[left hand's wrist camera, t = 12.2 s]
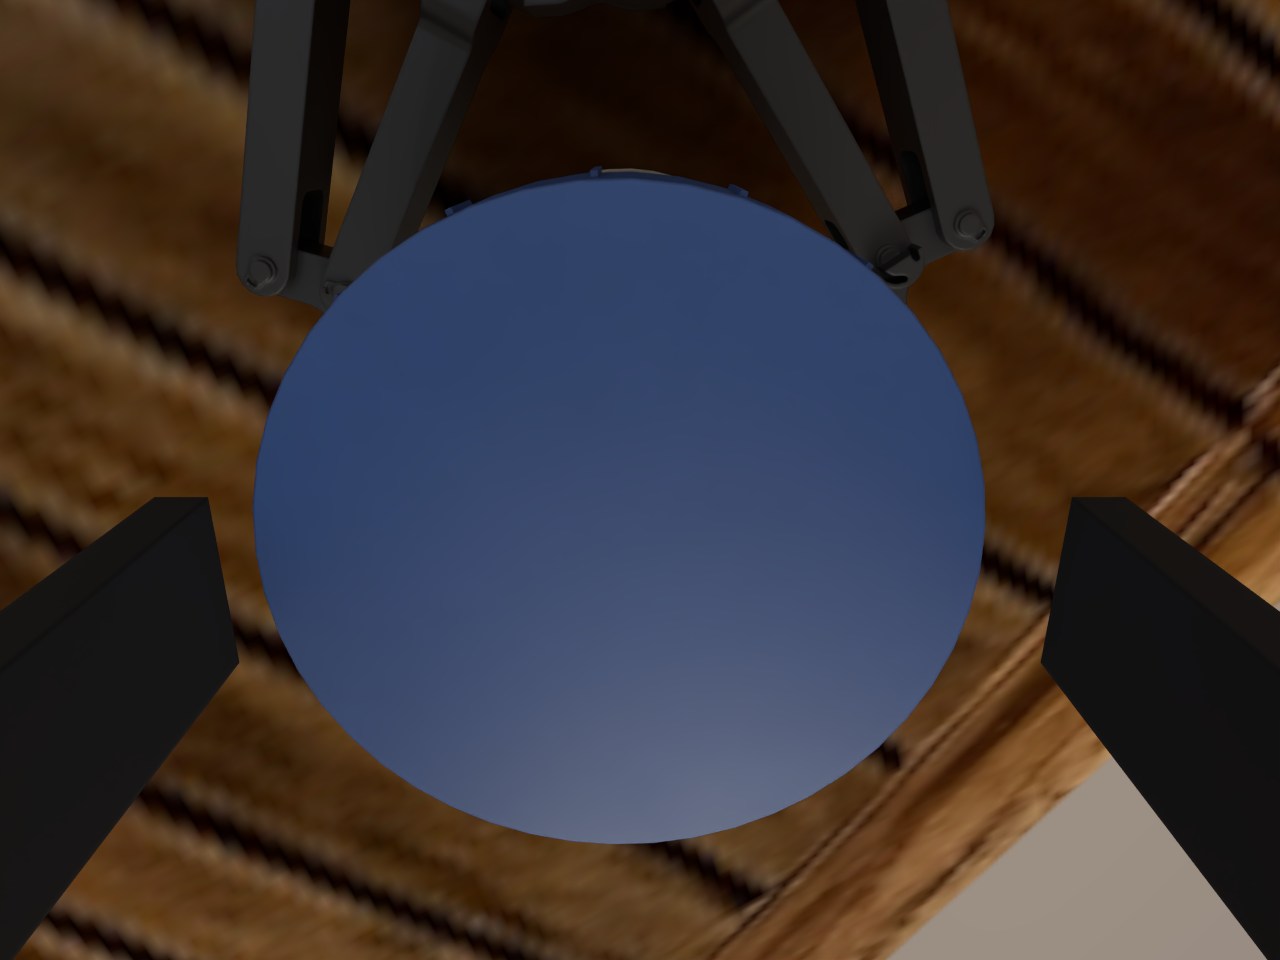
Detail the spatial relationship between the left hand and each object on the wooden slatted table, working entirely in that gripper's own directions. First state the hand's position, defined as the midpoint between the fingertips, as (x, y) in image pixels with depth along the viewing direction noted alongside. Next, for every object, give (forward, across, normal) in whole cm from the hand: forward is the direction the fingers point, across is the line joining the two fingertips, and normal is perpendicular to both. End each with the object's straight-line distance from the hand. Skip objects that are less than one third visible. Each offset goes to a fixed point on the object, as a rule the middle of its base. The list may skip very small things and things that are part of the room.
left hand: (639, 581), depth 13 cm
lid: (+1, 0, 0) cm, 1 cm away
